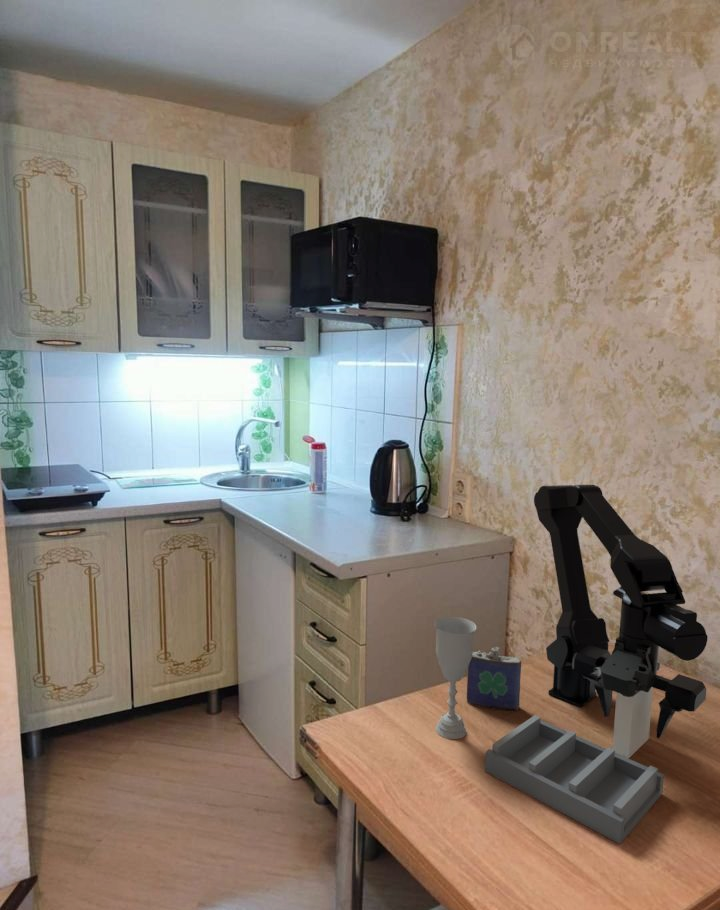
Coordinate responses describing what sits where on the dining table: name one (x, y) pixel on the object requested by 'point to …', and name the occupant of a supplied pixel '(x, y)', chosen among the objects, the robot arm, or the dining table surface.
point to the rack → (576, 777)
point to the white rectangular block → (631, 722)
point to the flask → (494, 681)
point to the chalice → (453, 666)
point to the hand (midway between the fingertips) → (632, 726)
